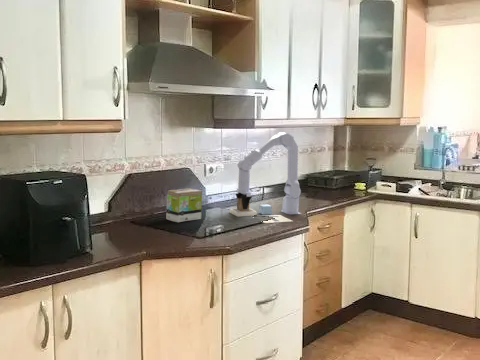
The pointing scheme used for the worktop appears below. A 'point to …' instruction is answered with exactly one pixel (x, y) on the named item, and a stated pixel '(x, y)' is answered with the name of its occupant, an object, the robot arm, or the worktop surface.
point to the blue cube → (265, 209)
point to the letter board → (277, 219)
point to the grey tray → (243, 212)
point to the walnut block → (241, 205)
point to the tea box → (184, 205)
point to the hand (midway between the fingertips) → (243, 207)
